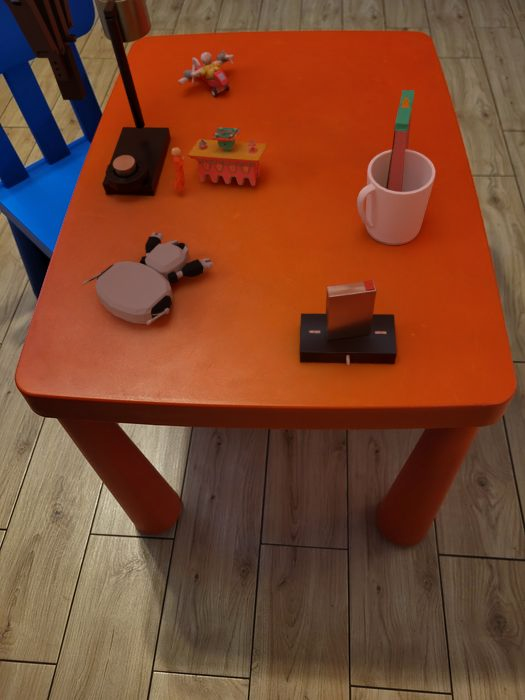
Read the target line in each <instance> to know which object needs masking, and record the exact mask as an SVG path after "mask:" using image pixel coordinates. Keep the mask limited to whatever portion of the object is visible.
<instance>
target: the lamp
mask: <svg viewBox="0 0 525 700" xmlns="http://www.w3.org/2000/svg"><path fill="white" fill-rule="evenodd" d="M94 3H95V7H96V11H97V14H98V17H99V20H100V25H101V28H102V31H103V34H104V37H105V38H106V39H107V40H108V41H110V43H111V46H112V50H113V53H114V57H115V60H116V64H117V67H118V70H119V74H120V78H121V81H122V84H123V88H124V91H125V95H126V98H127V101H128V106H129V109H130V112H131V115H132V119H133V123H134V127H136V128H139V129H140V128H143V127H146V123H145V119H144V115H143V111H142V108H141V104H140V100H139V97H138V93H137V89H136V86H135V83H134V78H133V74H132V71H131V68H130V64H129V60H128V57H127V52H126V49H125V45H124V44H126V43H127V44H128V43H133V42H137V41H138V40H141V39H143V38H145V37H147V35H149V33H150V32H151V30H152V22H151V17H150V14H149V10H148V4H147V0H94Z"/></svg>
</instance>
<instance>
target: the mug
mask: <svg viewBox="0 0 525 700" xmlns="http://www.w3.org/2000/svg"><path fill="white" fill-rule="evenodd" d="M391 153H392V154H393V150H392V149H388V150H384V151H382V152H380V153H378V154H377V155H375V156H374V157H373V158H372V159H371V160H370V162H369V164H368V165H367V173H366V185H365V186H363V188H362V189H361V190H360V191H359V193H358V196H357V198H356V207H357V211H358V215H359V217H360V220H361V222H362V223H363V224H364V226H365V231H366V232H367V233H368V235H369V236H370V237H371V238H372V239H373V240H374V241H376V242H378V243H379V244H383V245H387V246H401V245H405V244H408V243H409V242H411V241H413V240H414V239H416V237H417V236H418V235H419V233H420V231H421V228H422V225H423V221H424V218H425V213H426V210H427V207H428V204H429V200H430V197H431V193H432V189H433V185H434V183H435V179H436V168H435V165H434V164H433V162H432V161H431V160H430V158H428V157H427V156H426V155H425V154H423V153H421V152H418V151H416V150H413V149H409V148H408V149H405V159H404V171H403V184H402V192H395V191H391V190H388V183H389V176H390V169H391V163H390V160H391V161H392V156H391ZM389 167H390V169H389ZM388 173H389V175H388ZM387 179H388V180H387ZM365 202H366V203H365Z"/></svg>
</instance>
